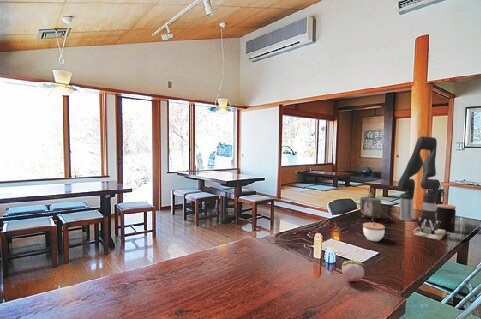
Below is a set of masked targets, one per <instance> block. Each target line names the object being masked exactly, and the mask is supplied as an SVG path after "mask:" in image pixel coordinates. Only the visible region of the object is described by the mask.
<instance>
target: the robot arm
mask: <svg viewBox="0 0 481 319" xmlns="http://www.w3.org/2000/svg"><path fill="white" fill-rule="evenodd" d="M437 144H438V140H437V139H436V137H433V136H424V135H420V136H419V137H418V138H417V140H416V143H415V146H414V149H413V152H412V153H411V154H412V155H410V158H409V160H408V161H407V162H408V163H407V164H406V167H405V169H404V171H403V174H401V176H400V178H399V180H398V181H397V187H398V189H399V190H401V191H405V192H403V193H400V195H399V207H398V213H397V214H398V215H397V219H398V220H402V221H406V222H407V221H408V222H410V221H413V210H414V197H415V190H416V183H415V182H416V181H415V179H413V176H415V175H417V174H418V173H419V172H420V171H421V170H422V178H421V181H420V188H422V190H426V191H427V190H429V191H430V190H432V191H431V192H425V193H423V196H422V207H421V217H416V219H415V220H416V222H417V227H421V232H422V233H423V228H424V226H426V225H429V227H431V228H432V233H431V234H432V235H434V234H435V230H438V228H439V226H440V224H441V221H438V220H436V214H437V195H438V193H439V190H440V188H441V181H440V180H439V179H437V178H436V179H435V177H436V175H437V171H436V158H437V157H436V156H437ZM422 150H425V151H429V155H428V156H427V157H426V159H425V160H423V157H422V155H421V151H422ZM411 177H412V178H411ZM421 221H422V224H421ZM436 224H437V226H436Z"/></svg>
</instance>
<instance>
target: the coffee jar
mask: <svg viewBox="0 0 481 319" xmlns="http://www.w3.org/2000/svg"><path fill="white" fill-rule="evenodd" d="M456 208H457V206H455V205H452V204H443V203H438V204H437V203H436V220H438V221H441V224H440V226H439V228H438V229H441V230H446V233H454V232H455V230H456V229H455V228H456V214H457V213H456V212H457V211H456ZM436 226H437V224H436V223H435V227H436Z"/></svg>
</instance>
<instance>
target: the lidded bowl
mask: <svg viewBox="0 0 481 319" xmlns="http://www.w3.org/2000/svg"><path fill="white" fill-rule="evenodd" d="M385 229H386V226H385V225H383V224H381V223H376V222H375V221H372V222H364V223H362V231H363V236H365V238H366V239H367V240H368V241H372V242H379V241H381V239H383V237H384V236H385Z"/></svg>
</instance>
